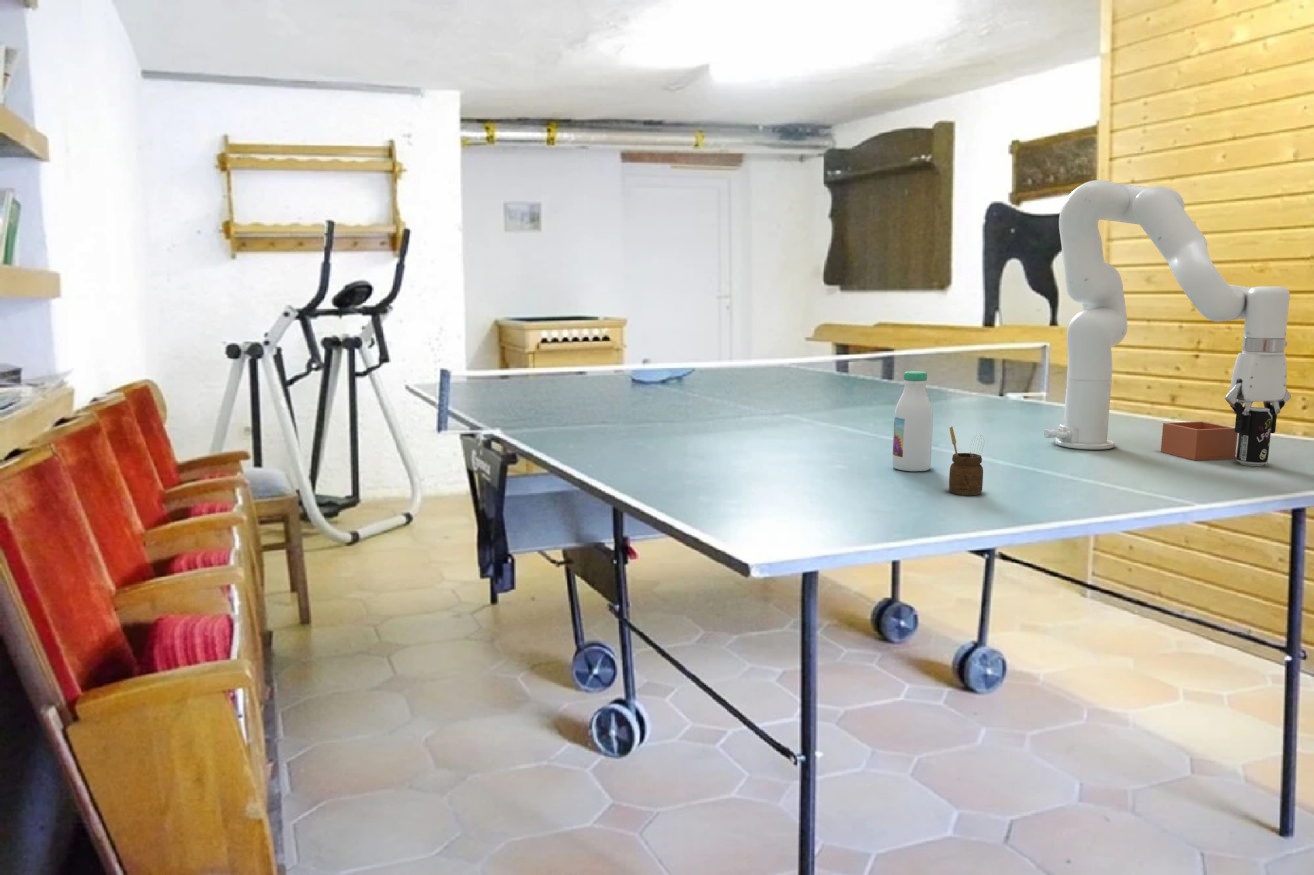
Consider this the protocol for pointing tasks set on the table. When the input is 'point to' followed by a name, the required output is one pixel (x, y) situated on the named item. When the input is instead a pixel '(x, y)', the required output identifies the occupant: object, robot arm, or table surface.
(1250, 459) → the beverage can
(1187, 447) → the bin
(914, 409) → the milk bottle
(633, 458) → the table surface
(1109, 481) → the table surface
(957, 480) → the utensil holder
